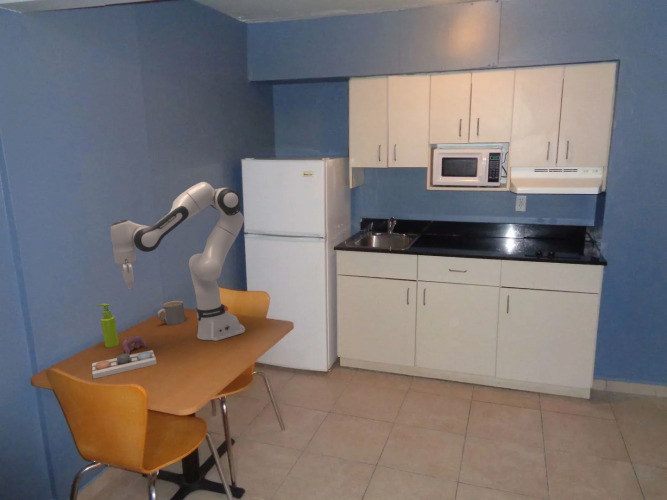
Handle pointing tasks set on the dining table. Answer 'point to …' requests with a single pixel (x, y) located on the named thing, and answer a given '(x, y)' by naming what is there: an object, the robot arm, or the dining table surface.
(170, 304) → the coffee mug
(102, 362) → the terracotta button
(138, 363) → the button board
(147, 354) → the pale blue button
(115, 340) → the soap dispenser
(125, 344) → the video game controller
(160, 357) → the dining table surface
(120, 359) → the charcoal button
